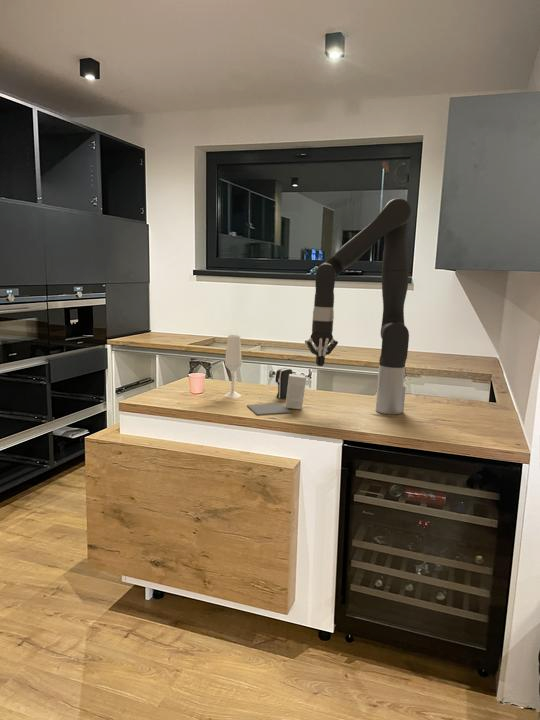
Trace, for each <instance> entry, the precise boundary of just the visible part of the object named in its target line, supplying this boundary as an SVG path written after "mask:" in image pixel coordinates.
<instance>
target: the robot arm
mask: <svg viewBox="0 0 540 720" xmlns="http://www.w3.org/2000/svg"><path fill="white" fill-rule="evenodd" d="M411 215H412V207H411V205H410V203H409V201H407V200H406V199H403V198H399V197H398V198H393V199H391V200H389V201H388V202H387V203H386V204H385V206H384V207H383V209H382V210H381V211H380V213H379V214H378V215H377V216H376V217H375V218H374V219H373V220H372V221H371V222H370V223H369V224H368V225H367V226H366V227H364V228H363V229H362V230H361V231H359V232H358V233H356V235H354V236H353V237H352V238H351V239H349V240H348V241H347V242H345V243H344V244H343V245H342V246H341V247H340V248H339V249H337V251H336V252H335V253H334V254H333V255H332V256H331V257H330V258H328V259H327V260H326V261H324V262H323V263H322V264H320V265H319V266H318V267H317V268H316V270H315V271H316V272H315V291H314V292H315V293H314V294H315V295H314V303H313V304H314V306H313V311H312V324H311V325H312V327H311V335H310V337H309V338H308V340H307V339H306V340H305V341H304V344H305V345H306V347H307V348H308V350H309V351H310V353H311V354H313V355H315V365H317V366H318V367H323V366H324V365H325V361H326V360H325V359H326V356H327V355H328V356H329V355H330V354H331V353H332V352H333V350H334V349H335V348H336V347H337V345H338V344H339V341H338V340H335V339H334V336H333V332H334V331H333V330H334V320H335V319H334V318H335V317H334V316H335V314H334V305H335V291H334V290H335V283H336V278H337V277H338V276H339V275H341V274H342V273H343V272H344V270H346V269H347V268H349V267H350V266H351V265H352V264H354V263H356V261H358V260H359V259H360V258H361V257H362V256H363V255H364V254H365V253H367V252H368V251H369V250H370V248H372V247H373V246H374V244H376V243H377V242H378V241H379V240H380V239H382V238H383V237H384V245H383V252H382V264H381V265H382V266H381V288H382V289H381V293H382V294H381V295H382V304H383V305H382V308H383V309H382V317H381V318H382V319H381V326H380V327H381V328H380V338H381V351H380V356H379V361H378V362H379V363H378V364H379V365H378V373H377V374H378V375H377V387H376V388H377V391H376V401H375V402H376V403H375V411H376V412H378V413H379V414H384V415H398V414H401V413H404V412H405V400H406V389H407V388H406V386H404V385H405V383H404V382H405V373H406V362H407V359H408V351H409V342H410V331H409V329H408V328H407V326H406V324H405V315H404V308H405V301H406V297H407V293H408V287H409V276H410V275H409V274H410V272H409V269H410V267H409V257H408V250H407V228H408V227H407V225H408V221H409V220H410V217H411Z"/></svg>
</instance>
